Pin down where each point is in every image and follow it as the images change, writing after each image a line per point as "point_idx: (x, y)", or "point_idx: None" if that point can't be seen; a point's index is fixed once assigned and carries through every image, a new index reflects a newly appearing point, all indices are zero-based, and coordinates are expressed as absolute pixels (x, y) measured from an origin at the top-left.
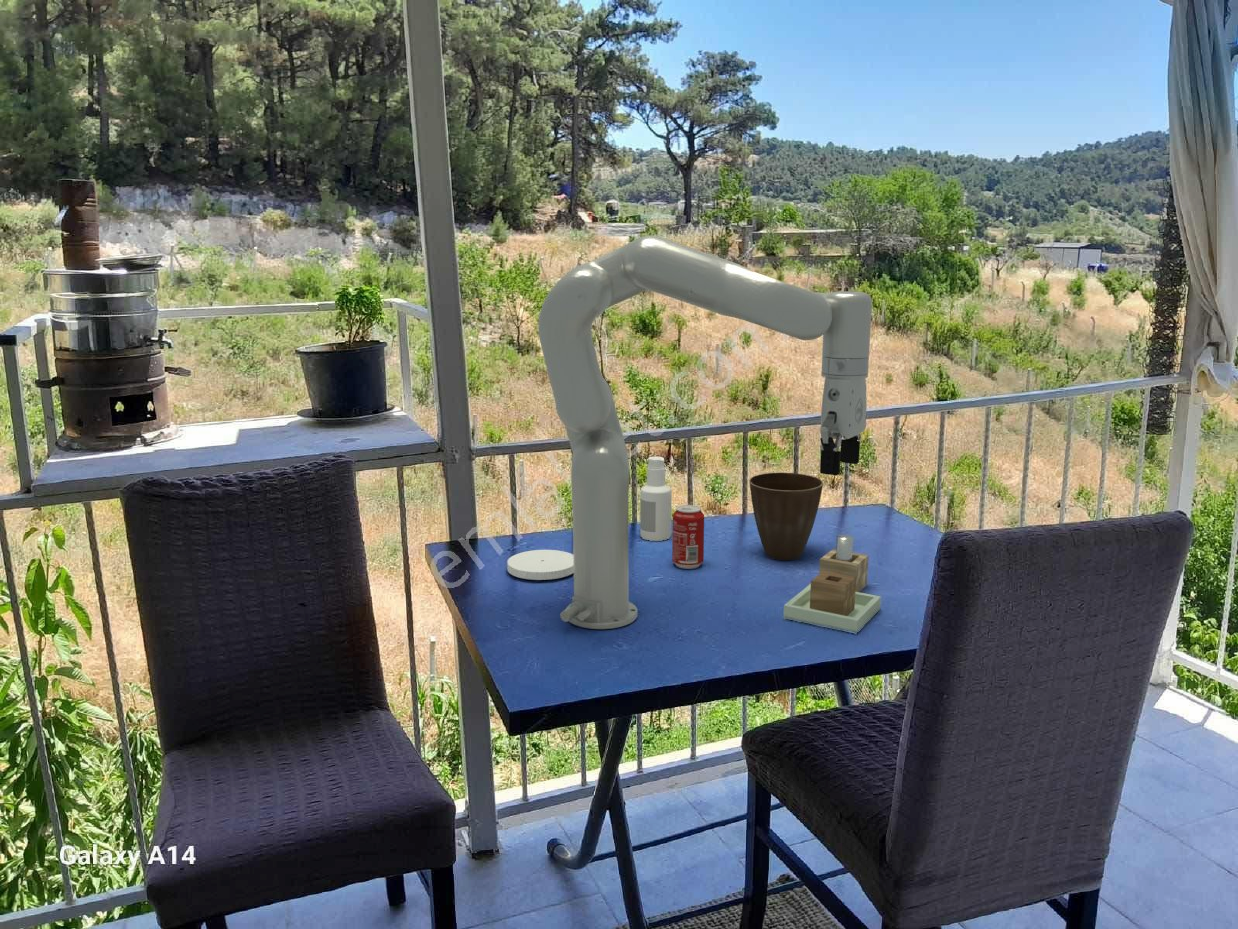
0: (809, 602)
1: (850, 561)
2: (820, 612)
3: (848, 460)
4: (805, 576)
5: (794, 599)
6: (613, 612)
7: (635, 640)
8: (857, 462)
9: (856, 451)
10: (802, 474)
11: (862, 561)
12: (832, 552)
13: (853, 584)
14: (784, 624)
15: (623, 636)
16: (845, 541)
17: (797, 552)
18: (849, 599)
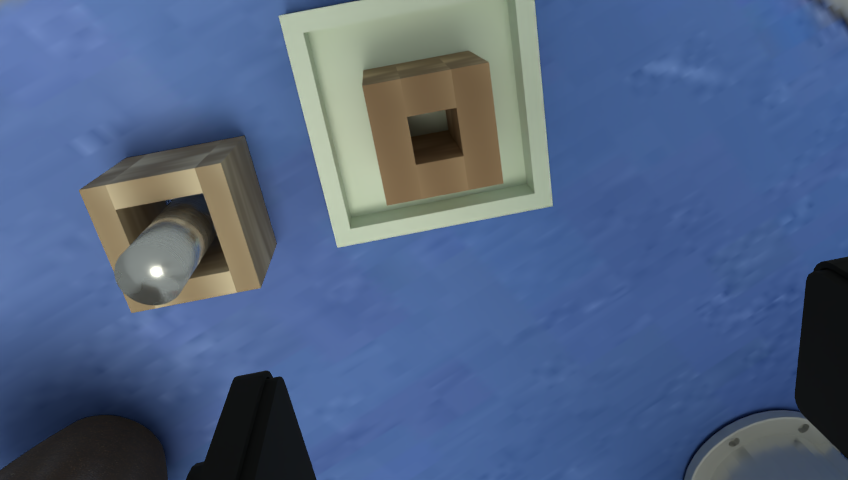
0: None
1: (178, 211)
2: (538, 96)
3: (300, 456)
4: (211, 324)
5: (492, 209)
6: (809, 447)
7: None
8: (265, 376)
9: (262, 475)
10: None
11: (151, 175)
12: None
13: (389, 77)
14: (571, 170)
15: None
16: (178, 255)
17: (108, 424)
18: (420, 66)
